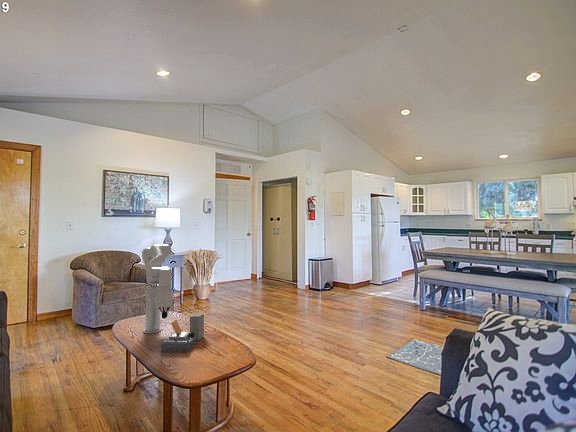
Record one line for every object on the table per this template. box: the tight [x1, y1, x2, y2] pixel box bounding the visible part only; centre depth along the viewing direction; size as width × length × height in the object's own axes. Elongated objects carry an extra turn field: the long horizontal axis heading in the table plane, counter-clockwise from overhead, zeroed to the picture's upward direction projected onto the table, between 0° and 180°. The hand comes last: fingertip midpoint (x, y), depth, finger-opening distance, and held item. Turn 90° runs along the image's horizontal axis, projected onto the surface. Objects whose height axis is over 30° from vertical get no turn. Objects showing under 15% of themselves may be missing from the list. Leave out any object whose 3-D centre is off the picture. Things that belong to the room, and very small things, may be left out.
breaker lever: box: [170, 319, 183, 335], centre depth 189 cm, size 5×2×8 cm, turn 178°
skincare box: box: [189, 313, 205, 342], centre depth 203 cm, size 8×7×16 cm
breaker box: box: [160, 331, 197, 354], centre depth 188 cm, size 16×16×8 cm
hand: (164, 317), depth 189 cm, fingers closed
